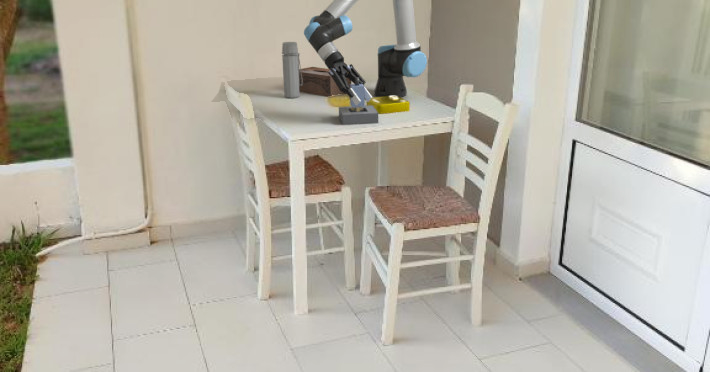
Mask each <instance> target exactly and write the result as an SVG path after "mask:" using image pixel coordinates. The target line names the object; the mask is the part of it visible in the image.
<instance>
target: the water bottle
mask: <svg viewBox="0 0 710 372" xmlns="http://www.w3.org/2000/svg"><path fill="white" fill-rule="evenodd" d="M281 46H282V47H281V54H282V55H281V57H282V59H281V60H282V75H283V95H284V97H285V98H286V99H297V98H299V97H300V92H299V85H300V84H299V69H300V72H301V69H302V68H301V67H302V66H301V60H300V54H301V53H300V52H299V48H298V42H297V41H285V42H282V45H281ZM301 79H302V73H301ZM302 82H303V80H302ZM300 86H302V83H301V85H300Z"/></svg>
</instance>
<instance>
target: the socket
mask: <svg viewBox="0 0 710 372" xmlns="http://www.w3.org/2000/svg"><path fill="white" fill-rule="evenodd" d="M338 118H339V120H340V122H341V124H342V125H343V126H346V125H347V126H349V125H367V124H370V125H371V124H379V114H378V112H377V111H376V109H375V108H374V107H373V106H372V105H370V106H367V105H364V107H363V110H360V111H358V112H357V111H356V107H355V110H351V105H350V106H338Z"/></svg>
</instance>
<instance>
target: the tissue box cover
mask: <svg viewBox="0 0 710 372" xmlns="http://www.w3.org/2000/svg"><path fill="white" fill-rule="evenodd" d="M329 71H330V69H328V68H325V67H317V66H310V67H309V66H307V67H304V68H301V72H300V68H299V84H300V85H301V83H302V86H300V85H299V93H303V94H304V93H305V94H309V95H316V96H321V97H322V96H323V97H328V96H332V95H338V94H342V95H346V94H347V93H345V94H344V93H343V91H342V92H341V91H340V90H339V88H338V86H337V85H336V83H335V82H334V80H333V78H332V77H331V76H330V75H329V74H328V72H329ZM301 73H302V79H301ZM348 73H349V72H348ZM348 73H347V74H348ZM345 78H346V77H345ZM302 80H303V82H302ZM346 80H347V83H348V85H349V89H350V84H352V81H351V80H350V79H348V78H346ZM341 88H342V87H341ZM338 96H339V95H338ZM328 98H329V97H328Z"/></svg>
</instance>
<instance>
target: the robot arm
mask: <svg viewBox="0 0 710 372" xmlns="http://www.w3.org/2000/svg"><path fill="white" fill-rule="evenodd" d="M358 1H359V0H333V1H332V2H330V3H329V5H328V6H327V7H325V9H324V10H323V11H322V12H321V13H320V14H319V15H314V16H313V17H311V19H310V20H309V22H308V23H309V24H308V25H306V27H305V28H304V31H303V35H304V37H305V39H306V40H307V42H308V43H309V45H311V46H312V48H313V50H315V52H316V54H318V56H319V57H320V59H321V60H322V62H324V65H325V67H327V69H330V71H329V72H328V74H329V75H330V76H331V77H332V78H333V80H334V82H335V83H336V85H337V86H338V88H339V90H340V91H341V92H342V91H343V93H344V94H343V95H346V94H347V96H348V97H349V99H350V98H351V99H352V101H353V102H354V103H355V105H358V104H359V103H360V102H361V100H360V99H359V97H358V96H357V95H356V93H355V92H354V91H353V89H352V88H350V89H349V85H348V83H347V80H346V78H348V79H350V80H351V83H352V84H355V78H356V77H359V84H363V85H364V100H365V101H366V103H367V102H369V101H370V100H371V99H372V98H374V97H375V96H376V97H385V96H393V95H395V96H398V97H401V98H403V97H405V96H407V94H408V92H407V90H408V89H407V87H406V84H405V80H404V77H406V78H418V77H420V76H421V75H422V74H423V72H424V71H425V70H426V67H427V64H428V63H427V62H428V60H427V56H426V54H425V53H424V52H422V49H421V44H420V43H419V42H418V41H417V32H416V23H415V22H416V20H415V19H416V18H415V11H414V0H392V7H393V15H394V16H393V17H394V26H395V36H396V44H386V45H381V46H379V47H378V49H377V80H376V84H375V86H374V87H375V88H374V91H373V92H374V96H372V94H371V93H370V92H369V91H368V89H367V87H366V86H365V84H366V80H365V79H364V78H363V77H362V75H361V74H360V73H359V72H358V71H357V70H356V68H355V67H354V65H353V64H352V63H351V64H347V63H346V62H345V57H344V56H343V54H342V53H341V52H340V51H339V48H338V47H337V46H336V45H335V44H334V41H336V40H338V39H340V38H342V37H344V36H347V35H348V34H349V33H351V32H352V31H353V22H352V20H351V19H350V18H349V16H348V15H346V14H347V13H348V12H349V10H351V8H353V7H354V5H356V3H358ZM348 72H349V73H348ZM347 73H348V74H347ZM345 77H346V78H345ZM341 87H342V88H341ZM345 93H346V94H345Z"/></svg>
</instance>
